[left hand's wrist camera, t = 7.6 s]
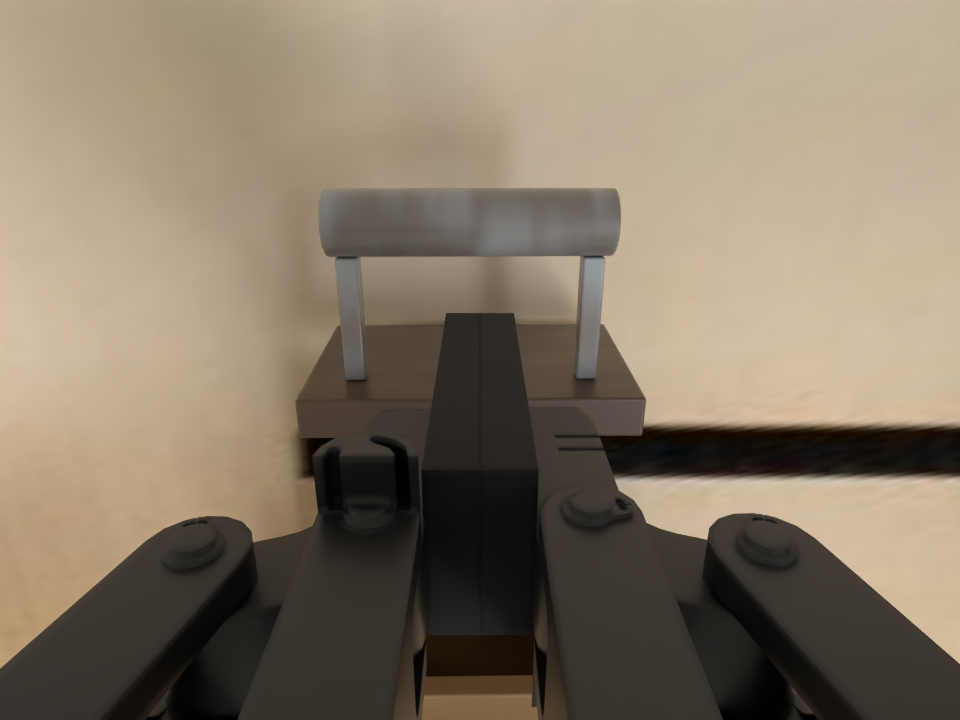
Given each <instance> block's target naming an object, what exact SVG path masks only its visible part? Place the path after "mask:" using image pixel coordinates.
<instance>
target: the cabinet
mask: <svg viewBox="0 0 960 720" xmlns="http://www.w3.org/2000/svg"><path fill="white" fill-rule="evenodd" d="M532 684H533V675H499V676H426V680H425V691H424V702H423V713H422V720H538V712H537V707H532Z"/></svg>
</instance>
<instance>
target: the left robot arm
mask: <svg viewBox="0 0 960 720" xmlns="http://www.w3.org/2000/svg"><path fill="white" fill-rule="evenodd" d="M312 461H313V470H314V479H315V488H316V497H317V506H318V514H317V517H316V519H315V522H314V524H313V526H312V527H310V528H307V529H305V530H303V531H301V532H297V533H294V534H290V535H287V536H283V537H278V538H273V539H268V540H263V541H259V542H254V543H253V540H252V533H251V530H250V529H249V528H248V527H247V526H246V525H245V524H244V523H243V522H241V521H238V520H235V519H232V518H229V517H218V516H206V517H198V518H193V519H189V520H185V521H183V522H180V523H178V524H175V525H173V526H170V527H168V528H165V529H163V530H162V531H160V532H159V533H157V534H156V535H154V536H153V537H151V538H150V539H148V540H147V541H146V542H144V543H143V544H142V545H141V546H140V547H139V548H138V549H136V550H135V551H134V552H133V553H132V554H131V555H130V556H128V557H127V558H126V559H125V560H124V561H123V562H122V563H120V564H119V565H118V566H117V567H116V568H115V569H114V570H112V571H111V572H110V573H109V574H108V575H107V576H106V577H104V578H103V579H102V580H101V581H100V582H99V583H98V584H97V585H95V586H94V587H93V588H92V589H91V590H90V591H89V592H87V593H86V594H85V595H84V596H83V597H82V598H81V599H79V600H78V601H77V602H76V603H75V604H74V605H73V606H71V607H70V608H69V609H68V610H67V611H66V612H65V613H63V614H62V615H61V616H60V617H59V618H58V619H57V620H55V621H54V622H53V623H52V624H51V625H50V626H49V627H47V628H46V629H45V630H44V631H43V632H42V633H41V634H39V635H38V636H37V637H36V638H35V639H34V640H33V641H31V642H30V643H29V644H28V645H27V646H26V647H25V648H23V649H22V650H21V651H20V652H19V653H18V654H17V655H15V656H14V657H13V658H12V659H11V660H10V661H9V662H7V663H6V664H5V665H4V666H3V667H2V668H1V669H0V720H422V713H423V702H424V691H425V680H426V669H427V659H426V629H427V630H428V635H532V630H533V626H534V659H533V684H532V707H537V712H538V720H960V664H959V663H958V662H957V661H956V660H954V659H953V658H952V657H951V656H950V655H949V654H948V653H946V652H945V651H944V650H943V649H942V648H941V647H939V646H938V645H937V644H936V643H935V642H934V641H933V640H931V639H930V638H929V637H928V636H927V635H926V634H924V633H923V632H922V631H921V630H920V629H919V628H918V627H916V626H915V625H914V624H913V623H912V622H911V621H910V620H908V619H907V618H906V617H905V616H904V615H903V614H901V613H900V612H899V611H898V610H897V609H896V608H895V607H893V606H892V605H891V604H890V603H889V602H888V601H886V600H885V599H884V598H883V597H882V596H881V595H880V594H878V593H877V592H876V591H875V590H874V589H873V588H872V587H870V586H869V585H868V584H867V583H866V582H865V581H863V580H862V579H861V578H860V577H859V576H858V575H857V574H855V573H854V572H853V571H852V570H851V569H850V568H848V567H847V566H846V565H845V564H844V563H843V562H842V561H840V560H839V559H838V558H837V557H836V556H835V555H834V554H832V553H831V552H830V551H829V550H828V549H827V548H825V547H824V546H823V545H822V544H821V543H820V542H819V541H817V540H816V539H815V538H814V537H812V536H811V535H809V534H808V533H806V532H805V531H803V530H802V529H800V528H799V527H797V526H795V525H793V524H790V523H788V522H785V521H783V520H780V519H778V518H775V517H771V516H767V515H762V514H754V513H747V514H732V515H729V516H726V517H722V518H719V519H718V520H717V521H716V522H715V523H714V524H713V525H712V526H711V527H710V528H709V533H708V540H705V539H700V538H696V537H691V536H686V535H681V534H676V533H673V532H669V531H665V530H662V529H659V528H657V527H654V526H652V525H650V524H648V523H646V521H645V518H644V516H643V513H642V511H641V510H640V508H639V507H638V506H637V504H636V503H635V501H634V500H632V499H631V498H629V497H628V496H626V495H625V494H623V493H622V492H620V491H619V490H618V488H617V485H616V482H615V479H614V476H613V474H612V471H611V468H610V465H609V462H608V460H607V457H606V454H605V451H603V446H602V443H601V440H600V438H599V434H598V431H597V429H596V426H595V423H594V420H593V419H592V418H591V417H589V416H588V415H587V414H586V413H584V412H583V411H582V410H581V409H580V408H578V407H529V406H528V400H527V393H526V387H525V381H524V374H523V368H522V362H521V356H520V349H519V343H518V337H517V331H516V324H515V318H514V313H446V318H445V324H444V331H443V337H442V343H441V349H440V356H439V362H438V368H437V374H436V381H435V387H434V393H433V400H432V406H431V409H382V410H381V411H379V412H378V413H377V414H376V415H375V416H373V417H372V418H371V419H370V420H368V421H367V423H366V426H365V428H364V431H363V432H359V433H352V434H348V435H345V436H341V437H338V438H335V439H333V440H331V441H329V442H328V443H326V444H324V445H322V446H321V447H320V448H319V449H318V450H317V451H316V452H315V454H314V455H313V456H312Z"/></svg>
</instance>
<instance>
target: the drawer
mask: <svg viewBox="0 0 960 720" xmlns="http://www.w3.org/2000/svg"><path fill="white" fill-rule="evenodd" d="M620 226H621V207H620V199H619V195H618V192H617V190H616V189H614V188H429V189H324V190H323V191H322V193H321V197H320V202H319V231H320V238H321V243H322V247H323V250H324V252H325V254H326V255H327V256H328V257H337V258H336V259H335V266H336V277H337V288H338V300H339V311H340V322H341V326H337V328H336V329H335V331H334V333H333V335H332V337H331V338H330V340H329V342H328V344H327V346H326V347H325V349H324V351H323V353H322V355H321V356H320V358H319V360H318V362H317V364H316V365H315V367H314V369H313V371H312V372H311V374H310V376H309V378H308V380H307V381H306V383H305V385H304V387H303V389H302V390H301V392H300V394H299V396H298V398H297V399H296V402H295V403H296V411H297V419H298V428H299V435H300V437H301V438H338V437H341V436H345V435H348V434H352V433H359V432H363V431H364V428H365V426H366V423H367V421H368V420H370V419H371V418H372V417H373V416H375V415H376V414H377V413H378V412H379V411H381V410H382V409H431V406H432V400H433V393H434V387H435V381H436V374H437V368H438V362H439V356H440V349H441V343H442V337H443V331H444V325H388V326H365V318H364V305H363V291H362V277H361V264H360V257H462V256H580V272H579V288H578V305H577V321H576V325H516V331H517V337H518V343H519V349H520V356H521V362H522V368H523V374H524V381H525V387H526V393H527V400H528V406H529V407H578V408H580V409H581V410H582V411H583V412H584V413H586V414H587V415H588V416H589V417H591V418H592V419H593V420H594V423H595V426H596V429H597V431H598V434H599V436H639V435H642V432H643V423H644V414H645V405H646V398H645V396H644V395H643V393H642V391H641V389H640V388H639V386H638V384H637V382H636V381H635V379H634V377H633V375H632V373H631V372H630V370H629V368H628V366H627V365H626V363H625V361H624V359H623V358H622V356H621V354H620V352H619V351H618V349H617V347H616V345H615V344H614V342H613V340H612V338H611V337H610V335H609V333H608V331H607V330H606V328H605V326H604V325H603V324H600V321H601V308H602V295H603V282H604V269H605V258H604V257H603V256H612V255H613V254H614V253H615V251H616V249H617V246H618V241H619V236H620ZM426 659H427V669H426V676H499V675H533V659H534V626H533V630H532V635H428V630H427V629H426Z"/></svg>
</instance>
